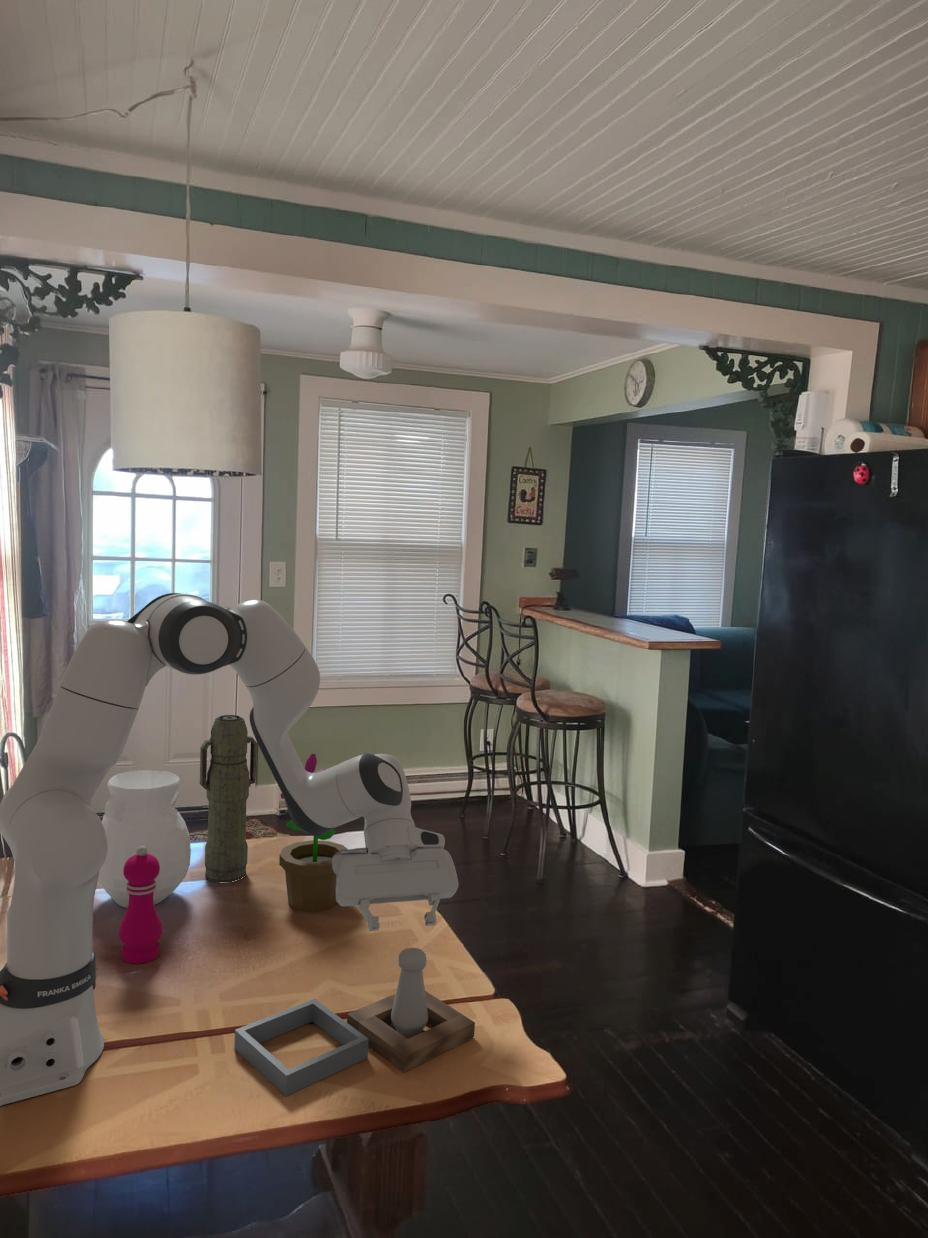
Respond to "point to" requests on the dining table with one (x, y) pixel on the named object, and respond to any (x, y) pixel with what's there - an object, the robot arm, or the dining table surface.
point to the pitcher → (144, 831)
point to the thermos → (227, 797)
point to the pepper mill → (140, 909)
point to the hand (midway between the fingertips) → (403, 927)
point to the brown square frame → (419, 1048)
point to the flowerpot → (310, 867)
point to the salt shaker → (410, 994)
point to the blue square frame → (312, 1069)
